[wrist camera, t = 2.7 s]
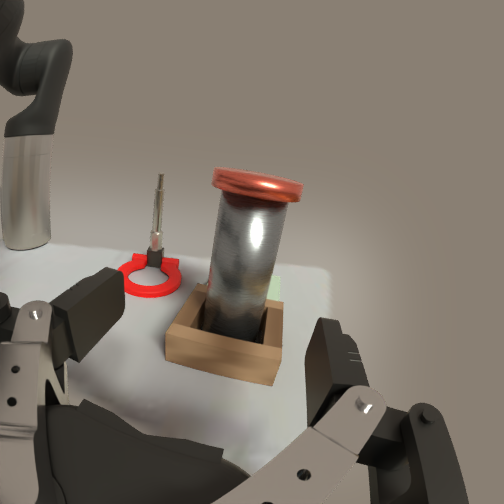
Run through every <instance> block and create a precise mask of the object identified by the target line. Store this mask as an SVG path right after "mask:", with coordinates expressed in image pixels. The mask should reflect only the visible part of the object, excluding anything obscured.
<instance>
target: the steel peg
mask: <svg viewBox="0 0 504 504" xmlns="http://www.w3.org/2000/svg"><path fill="white" fill-rule="evenodd" d="M212 185H213V186H214V187H217V188H219V189H222V192H221V198H220V204H219V210H218V217H217V223H216V230H215V237H214V243H213V250H212V257H211V264H210V272H209V279H208V287H207V295H206V303H205V311H204V320H203V329H202V331H205V332H209V333H213V334H217V335H221V336H226V337H230V338H234V339H239V340H243V341H248V342H252V343H255V342H256V339H257V335H258V331H259V327H260V323H261V319H262V315H263V310H264V306H265V302H266V298H267V294H268V290H269V286H270V282H271V277H272V273H273V269H274V265H275V260H276V256H277V252H278V247H279V243H280V238H281V234H282V230H283V225H284V221H285V216H286V211H287V207H288V202H299V201H300V199H301V195H302V190H303V184H302V183H299V182H297V181H293V180H290V179H286V178H282V177H278V176H274V175H269V174H265V173H259V172H254V171H248V170H241V169H234V168H224V167H215V168H214V172H213V178H212Z"/></svg>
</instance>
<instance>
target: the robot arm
mask: <svg viewBox="0 0 504 504" xmlns="http://www.w3.org/2000/svg"><path fill="white" fill-rule="evenodd" d="M23 15H24V1H23V0H0V85H1V86H3V87H4V88H5V89H6V90H7V91H9V92H10V93H12V94H13V95H16V96H28V95H36V97H35V99H34V101H33V102H32V103H31V104H30V105H29V106H28V107H27V108H26V109H25V110H23V111H22V112H20V113H19V114H17V115H16V116H14V117H12V118H10V119H9V120H8V121H7V123H6V127H5V134H4V137H5V138H4V144H3V158H2V185H1V186H0V207H1V221H2V233H3V240H4V241H5V245H6V246H7V247H8V248H10V249H14V250H25V249H31V248H35V247H39V246H41V245H43V244H45V243H47V242H48V241H49V240H50V239H51V230H50V173H51V172H50V171H51V157H52V146H53V136H54V135H53V134H54V129H55V124H56V121H57V117H58V112H59V108H60V103H61V99H62V94H63V90H64V87H65V84H66V80H67V77H68V74H69V70H70V66H71V61H72V55H73V51H72V45H71V43H70V41H68V40H66V39H60V40H51V41H44V42H37V43H24V42H23V41H21V40H20V39H19V38H18V37H17V34H18V32H19V29H20V26H21V23H22V19H23ZM124 309H125V292H124V275H123V272H122V271H119V270H115V269H112V268H108V267H105V268H103V269H102V270H100V271H99V272H98V273H96V274H95V275H92V276H89V277H87V278H84V279H82V280H81V281H79V282H78V283H76V285H73V286H72V287H71V288H70V289H68V290H66V291H65V292H63V293H62V294H61V295H59V296H58V297H56V298H55V299H54V300H52V301H51V302H50V303H47V302H45V301H31V302H29V303H26V304H25V305H23V306H22V307H21V308H20V309H19V308H15V307H10V303H9V299H8V296H7V295H6V294H5V293H2V292H0V504H322V503H323V502H324V501H325V500H326V499H327V498H328V496H329V495H330V494H331V493H332V492H333V491H334V489H335V488H336V487H337V486H338V484H339V483H340V482H341V481H342V479H343V478H344V477H345V476H346V474H347V473H348V472H349V470H350V469H351V468H352V466H353V465H354V464H355V462H356V463H360V464H364V465H368V471H369V485H370V501H371V504H469V502H468V497H467V493H466V489H465V485H464V481H463V477H462V473H461V470H460V466H459V463H458V460H457V456H456V453H455V450H454V447H453V444H452V441H451V438H450V435H449V432H448V430H447V427H446V424H445V422H444V419H443V416H442V415H441V413H440V412H439V411H438V409H436V408H435V407H434V406H432V405H430V404H426V403H418V404H415V405H413V406H412V407H411V409H410V410H409V411H408V412H404V411H400V410H397V409H393V408H390V407H387V406H386V401H385V399H384V398H383V396H382V395H381V394H380V393H379V392H378V391H376V390H374V389H372V388H370V386H369V383H368V380H367V377H366V373H365V370H364V367H363V363H362V362H361V357H360V354H359V351H358V348H357V345H356V343H355V342H354V340H353V339H352V338H351V337H350V336H349V335H347V334H342V330H341V327H340V323H339V321H338V320H333V319H327V318H321V317H320V318H319V319H318V321H317V323H316V326H315V329H314V332H313V334H312V337H311V340H310V343H309V345H308V348H307V351H306V355H305V379H306V400H307V429H306V430H305V431H304V432H303V433H302V434H300V435H299V436H298V437H297V438H296V439H295V440H294V441H293V442H292V443H291V444H290V445H288V446H287V447H286V448H285V449H284V450H283V451H282V452H280V453H279V454H278V455H277V456H276V457H275V458H273V459H272V460H271V461H270V462H269V463H267V464H266V465H265V466H264V467H262V468H261V469H260V470H259V471H257V472H256V473H255V474H253V475H252V476H250V475H249V474H248V473H247V472H245V471H244V470H242V469H241V468H240V467H238V466H236V465H235V464H233V463H231V462H229V461H227V460H225V459H223V458H222V454H223V450H224V449H222V448H217V447H213V446H209V445H205V444H201V443H197V442H193V441H190V440H186V439H177V438H167V437H159V436H152V435H146V434H143V433H141V432H139V431H138V430H137V429H135V428H134V427H132V426H131V425H129V424H128V423H126V422H125V421H124V420H122V419H121V418H119V417H118V416H117V415H115V414H114V413H112V412H110V411H108V410H106V409H104V408H102V407H100V406H98V405H96V404H93V403H91V402H90V401H88V400H86V399H83V401H82V402H81V404H80V405H79V406H73V405H69V397H68V381H67V364H66V360H67V359H68V358H71V359H73V360H75V361H77V362H78V363H79V362H80V361H81V360H82V359H83V358H84V357H85V356H86V355H87V353H88V352H89V351H90V350H91V349H92V348H93V347H94V346H95V345H96V344H97V343H98V341H99V340H100V339H101V338H102V337H103V336H104V335H105V334H106V333H107V332H108V331H109V330H110V329H111V327H112V326H113V325H114V324H115V323H116V322H117V321H118V320H119V319H120V318H121V317H122V315H123V313H124ZM408 463H409V464H408Z"/></svg>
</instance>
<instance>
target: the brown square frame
mask: <svg viewBox="0 0 504 504" xmlns="http://www.w3.org/2000/svg"><path fill="white" fill-rule="evenodd" d="M207 287H208V286H207V285H203V284H199V283H198V284H197V286H196V287H195V289H194V290H193V292H192V293H191V295H190V296H189V298H188V299H187V301H186V302H185V304H184V305H183V307H182V308H181V310H180V311H179V313H178V314H177V316H176V317H175V319H174V321H173V322H172V324H171V325H170V327H169V328H168V330H167V331H166V333H165V354H166V360H167V361H170V362H173V363H177V364H180V365H183V366H187V367H190V368H194V369H198V370H201V371H205V372H209V373H213V374H217V375H221V376H225V377H230V378H234V379H239V380H243V381H248V382H253V383H258V384H263V385H269V386H273V383H274V380H275V377H276V374H277V372H278V369H279V366H280V363H281V358H282V333H283V302H280V301H275V300H270V299H266V302H265V306H264V310H263V315H262V319H261V323H260V327H259V330H260V331H262V334H261V341H260V344H257V343H252V342H248V341H243V340H239V339H234V338H230V337H226V336H221V335H217V334H213V333H209V332H205V331H201V330H200V328H201V326H202V323H203V320H204V311H205V303H206V295H207Z"/></svg>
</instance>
